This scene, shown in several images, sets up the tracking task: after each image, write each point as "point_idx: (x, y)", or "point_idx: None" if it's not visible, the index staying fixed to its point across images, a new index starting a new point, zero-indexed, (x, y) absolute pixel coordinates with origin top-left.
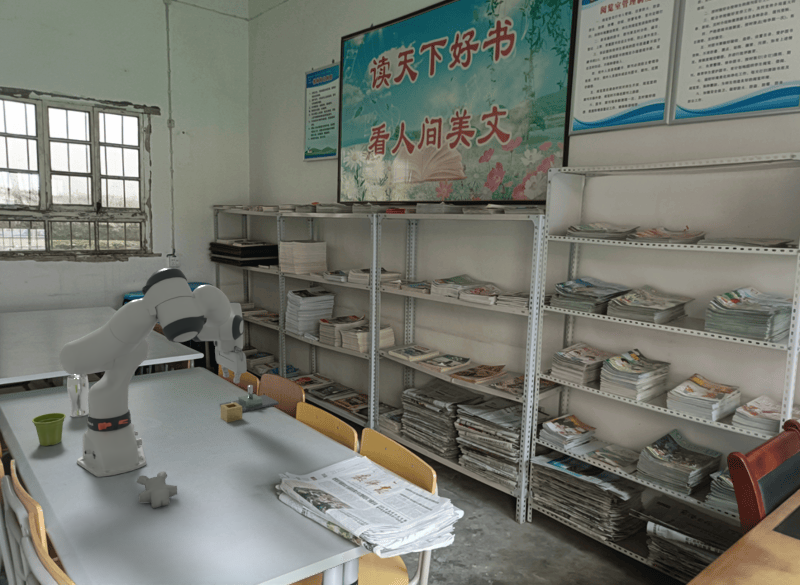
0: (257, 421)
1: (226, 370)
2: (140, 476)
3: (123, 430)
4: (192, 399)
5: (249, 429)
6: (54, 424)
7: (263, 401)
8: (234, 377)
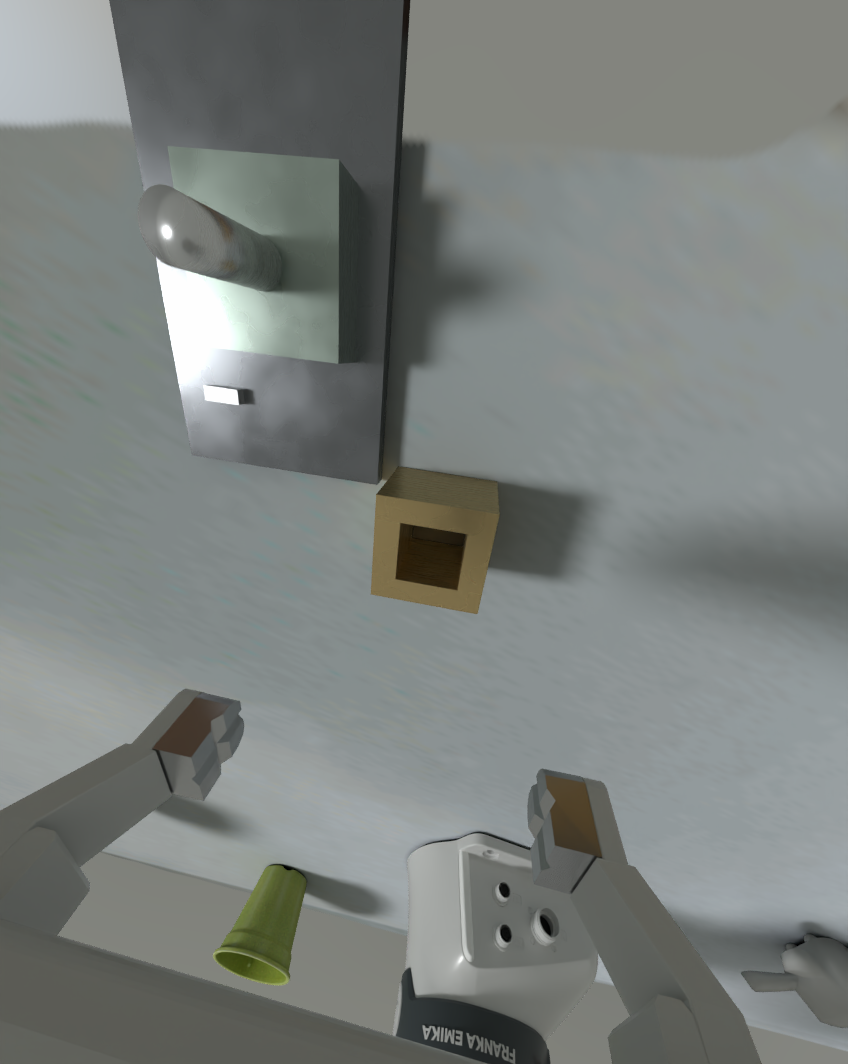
0: (614, 436)
1: (125, 792)
2: (755, 988)
3: (549, 1030)
4: (35, 495)
5: (677, 548)
6: (288, 960)
7: (295, 119)
8: (591, 934)
